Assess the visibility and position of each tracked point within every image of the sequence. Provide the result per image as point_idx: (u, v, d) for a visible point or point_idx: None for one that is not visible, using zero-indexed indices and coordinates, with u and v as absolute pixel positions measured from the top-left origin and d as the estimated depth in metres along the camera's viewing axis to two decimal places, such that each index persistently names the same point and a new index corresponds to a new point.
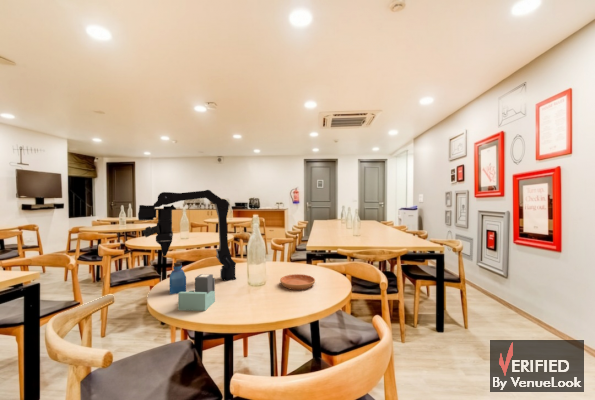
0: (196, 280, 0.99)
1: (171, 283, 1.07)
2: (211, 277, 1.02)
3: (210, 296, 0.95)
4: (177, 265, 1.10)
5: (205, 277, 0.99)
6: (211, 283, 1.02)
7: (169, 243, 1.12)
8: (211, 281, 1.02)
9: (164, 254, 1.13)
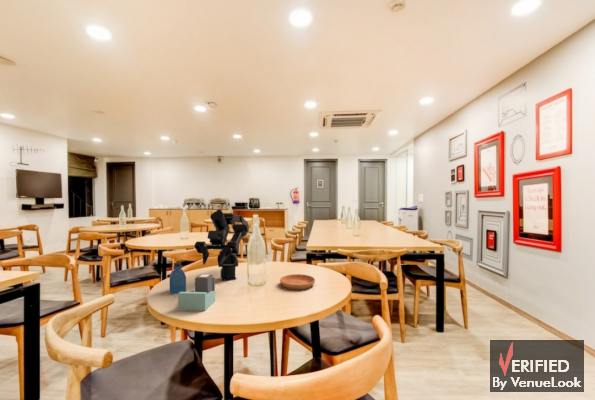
0: (196, 280, 0.99)
1: (171, 283, 1.07)
2: (211, 277, 1.02)
3: (210, 296, 0.95)
4: (177, 265, 1.10)
5: (205, 277, 0.99)
6: (211, 283, 1.02)
7: (228, 255, 1.14)
8: (211, 281, 1.02)
9: (221, 262, 1.09)
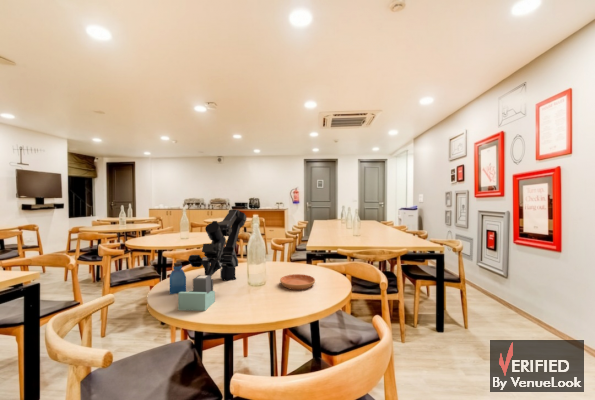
0: (194, 281, 0.97)
1: (171, 283, 1.07)
2: (209, 278, 1.01)
3: (210, 296, 0.95)
4: (177, 265, 1.10)
5: (203, 278, 0.98)
6: (209, 284, 1.00)
7: (216, 269, 1.08)
8: (209, 282, 1.00)
9: None
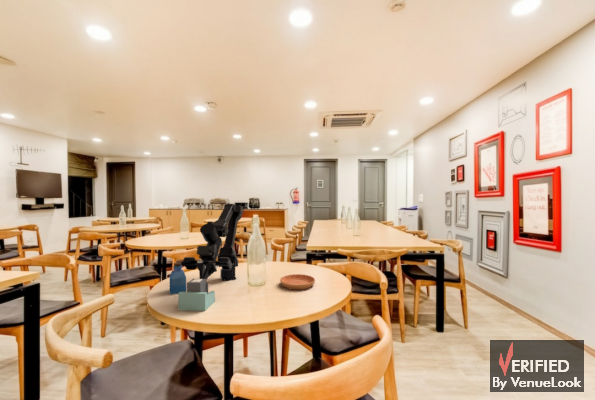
0: (188, 285, 0.93)
1: (171, 283, 1.07)
2: (204, 282, 0.96)
3: (210, 296, 0.95)
4: (177, 265, 1.10)
5: (198, 282, 0.93)
6: (204, 288, 0.96)
7: (212, 272, 1.04)
8: (204, 286, 0.96)
9: None
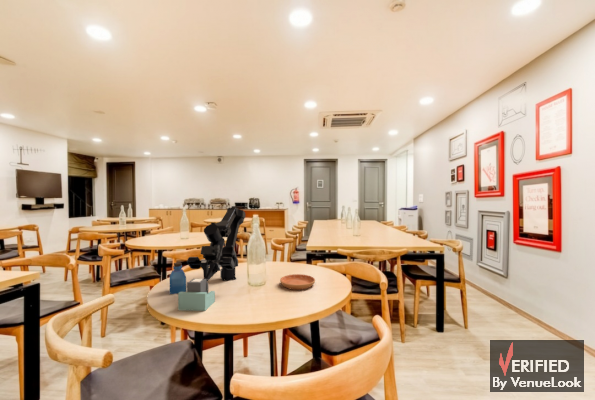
0: (188, 285, 0.93)
1: (171, 283, 1.07)
2: (204, 282, 0.96)
3: (210, 296, 0.95)
4: (177, 265, 1.10)
5: (198, 282, 0.93)
6: (204, 288, 0.96)
7: (215, 271, 1.07)
8: (204, 286, 0.96)
9: (207, 280, 1.03)
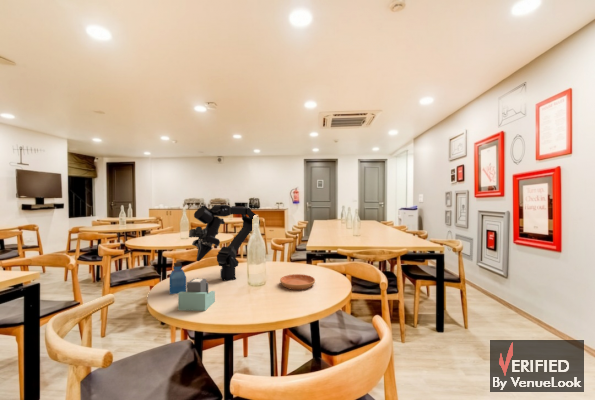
0: (188, 285, 0.93)
1: (171, 283, 1.07)
2: (204, 282, 0.96)
3: (210, 296, 0.95)
4: (177, 265, 1.10)
5: (198, 282, 0.93)
6: (204, 288, 0.96)
7: (208, 250, 1.15)
8: (204, 286, 0.96)
9: (199, 259, 1.13)
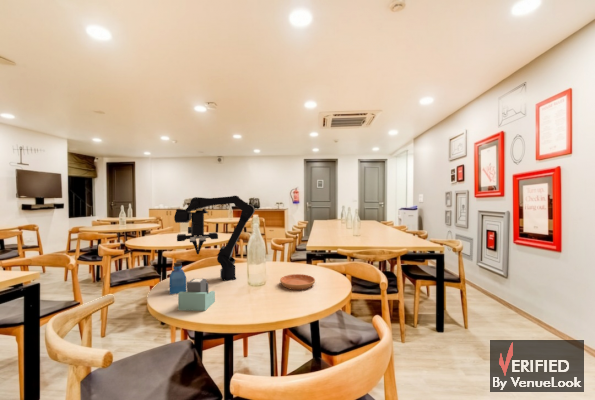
0: (188, 285, 0.93)
1: (171, 283, 1.07)
2: (204, 282, 0.96)
3: (210, 296, 0.95)
4: (177, 265, 1.10)
5: (198, 282, 0.93)
6: (204, 288, 0.96)
7: None
8: (204, 286, 0.96)
9: (196, 252, 1.27)
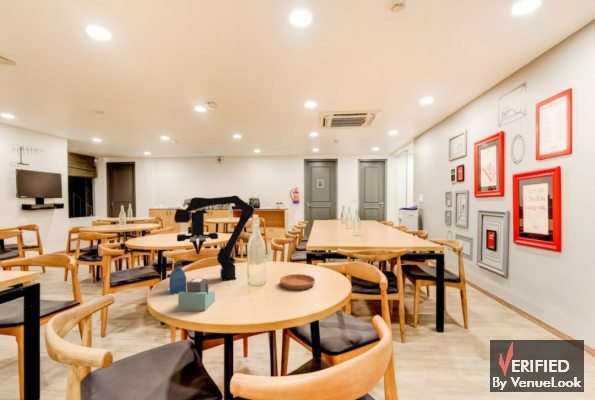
0: (188, 285, 0.93)
1: (171, 283, 1.07)
2: (204, 282, 0.96)
3: (210, 296, 0.95)
4: (177, 265, 1.10)
5: (198, 282, 0.93)
6: (204, 288, 0.96)
7: None
8: (204, 286, 0.96)
9: (196, 252, 1.28)
